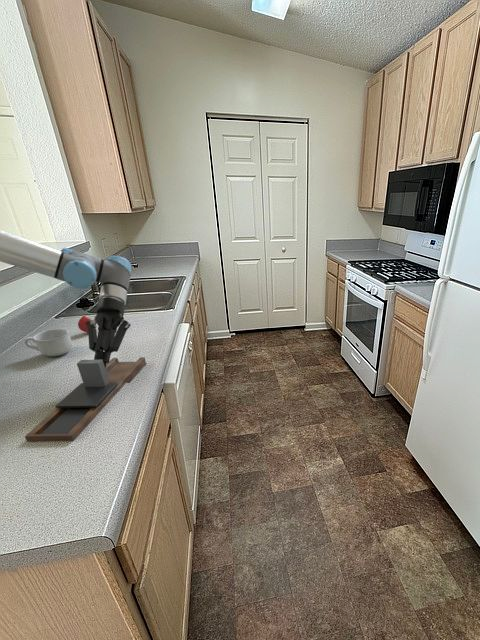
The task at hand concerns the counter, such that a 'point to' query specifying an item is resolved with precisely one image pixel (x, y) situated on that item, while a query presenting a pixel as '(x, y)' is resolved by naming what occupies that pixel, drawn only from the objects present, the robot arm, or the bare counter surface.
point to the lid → (89, 386)
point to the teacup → (51, 342)
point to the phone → (66, 421)
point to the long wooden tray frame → (116, 374)
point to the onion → (83, 323)
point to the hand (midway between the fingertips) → (99, 373)
